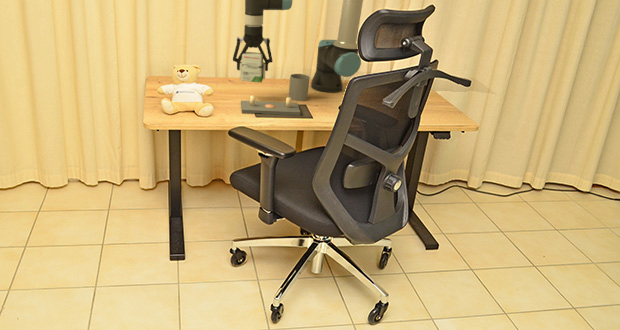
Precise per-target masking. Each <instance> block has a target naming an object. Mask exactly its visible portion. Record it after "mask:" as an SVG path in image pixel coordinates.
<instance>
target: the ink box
mask: <svg viewBox="0 0 620 330" xmlns="http://www.w3.org/2000/svg"><path fill="white" fill-rule="evenodd" d="M241 62H242V75H241V78H240V80H241V82H249V83H253V82H254V83H262V82H263V80H264V79H263V62H264V59H263V55H262V54H261V53H260V52H256V51H246V52H245V54H242V60H241Z"/></svg>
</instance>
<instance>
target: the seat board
mask: <svg viewBox="0 0 620 330" xmlns="http://www.w3.org/2000/svg"><path fill="white" fill-rule="evenodd" d="M285 99H286V100H285V102H282V101H281V102H279V101H262V100H261V101H260V100H259V101H256V96H255V95H250V97H249V100H240V109H241V111H240V112H241V114H246V115H247V114H251V115H253V114H254V115H256V114H255V113H262V114H261V115H270V114H278V115H277V116H294V115H295V116H296V117H297V116H301V110H300V107H299V105H298V102H292V100H291V98H290V97H289V96H287V97H286V98H285Z"/></svg>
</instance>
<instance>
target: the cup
mask: <svg viewBox="0 0 620 330" xmlns="http://www.w3.org/2000/svg"><path fill="white" fill-rule="evenodd" d="M289 77H290V78H289V88H288V97H290V98H291V101H296V102H305V101H307V100H308V97H309V85H310V84H309V83H310V76H309V75H307V74H303V73H302V74H301V73H293V74H290V75H289Z"/></svg>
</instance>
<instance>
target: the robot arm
mask: <svg viewBox="0 0 620 330" xmlns="http://www.w3.org/2000/svg"><path fill="white" fill-rule="evenodd" d="M363 3H364V0H342V7H341V11H340V12H341V14H340V19H339V26H338V32H337V39H321V40H319V42H318V47H317V56H316V57H317V58H316V66H315V67H316V68H315V72H314V75H313V77H312V79H311V81H310V82H311V83H310V88H311V89H312V90H315V91H318V92H323V93H339V92H341V91H342V90H343V80H342V77H345V78H349V77H352V76H354V75H355V74H356V73H358V71H359V70H360V68H361V65H362V59H361V57H360V55H359V50H358V49H357V45H358V44H357V43H358V42H357V40H358V39H357V38H358V34H359V27H360V21H361V16H362V11H363V10H362V8H363V5H364V4H363ZM292 5H293V0H244V24H245V25H244V34H243V37H240V36H237V37H236V46H235V49H234V52H233V57H232V61H233V62H236V70H237V71H239V79H242V54H245V52H248V49H249V48H250V49H252V48H253V49H254V48H255V49H257V48H258V51H259V53H261V54H262V55H263V80H266V72H268V70H269V64H270V63H273V56H272V52H271V47H270V43H271V39H270V38H269V37H267V38H264V36H263V34H264V33H263V31H264V26H263V25H264V11H287V10H290V9H291V8H292ZM243 41H244V43H245V45H244V46H243V48H242V50H241V52H240V54H239V50H240V46H241V43H242V42H243ZM263 42H264V44H265V45H266V50H267V55H268V56H267V55H266V54H265V52H264V49H263V48H262V45H261V44H262V43H263ZM238 54H239V55H238ZM267 57H268V58H267Z"/></svg>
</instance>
